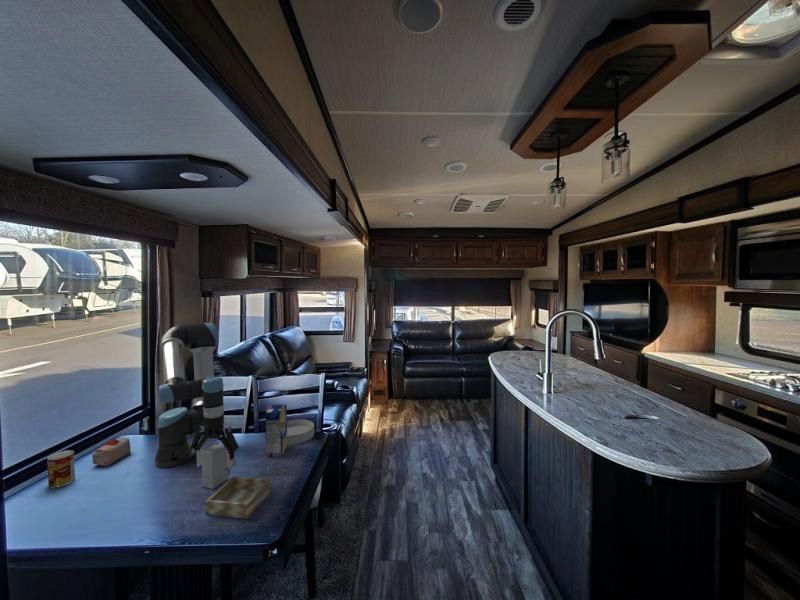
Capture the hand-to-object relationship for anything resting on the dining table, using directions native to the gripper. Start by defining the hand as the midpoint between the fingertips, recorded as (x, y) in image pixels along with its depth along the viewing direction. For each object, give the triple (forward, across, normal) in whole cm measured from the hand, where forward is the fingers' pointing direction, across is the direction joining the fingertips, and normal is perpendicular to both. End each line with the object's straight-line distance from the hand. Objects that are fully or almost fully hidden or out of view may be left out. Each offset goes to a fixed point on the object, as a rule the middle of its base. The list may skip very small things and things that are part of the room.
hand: (215, 465), depth 141 cm
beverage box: (+7, +13, +28) cm, 32 cm away
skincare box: (+8, 0, 0) cm, 8 cm away
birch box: (+8, +18, -11) cm, 22 cm away
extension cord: (+8, -6, +12) cm, 16 cm away
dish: (+8, +13, +47) cm, 50 cm away
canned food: (+7, -64, -8) cm, 65 cm away
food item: (+7, -61, +11) cm, 63 cm away
